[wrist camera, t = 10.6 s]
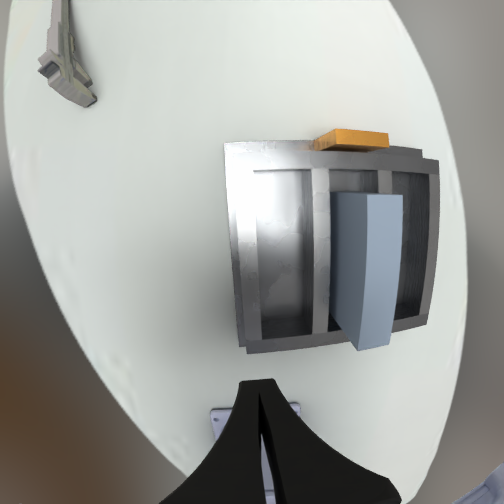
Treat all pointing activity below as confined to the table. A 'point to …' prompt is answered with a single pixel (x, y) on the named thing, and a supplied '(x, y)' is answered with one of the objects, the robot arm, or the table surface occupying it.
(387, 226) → the panel
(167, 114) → the table surface
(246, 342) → the panel rack
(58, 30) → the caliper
